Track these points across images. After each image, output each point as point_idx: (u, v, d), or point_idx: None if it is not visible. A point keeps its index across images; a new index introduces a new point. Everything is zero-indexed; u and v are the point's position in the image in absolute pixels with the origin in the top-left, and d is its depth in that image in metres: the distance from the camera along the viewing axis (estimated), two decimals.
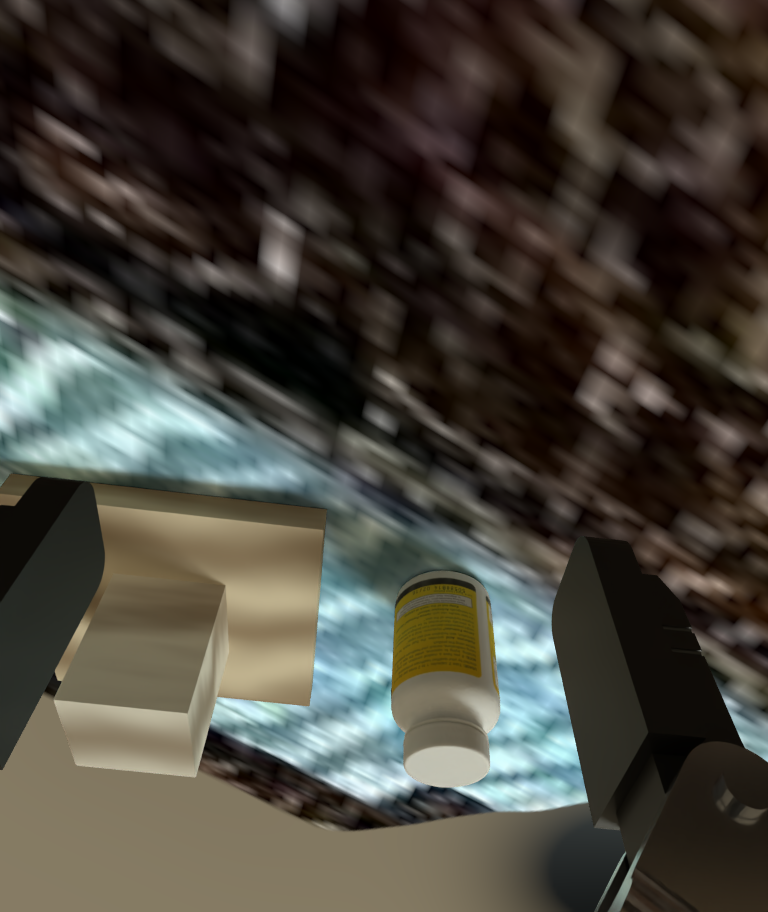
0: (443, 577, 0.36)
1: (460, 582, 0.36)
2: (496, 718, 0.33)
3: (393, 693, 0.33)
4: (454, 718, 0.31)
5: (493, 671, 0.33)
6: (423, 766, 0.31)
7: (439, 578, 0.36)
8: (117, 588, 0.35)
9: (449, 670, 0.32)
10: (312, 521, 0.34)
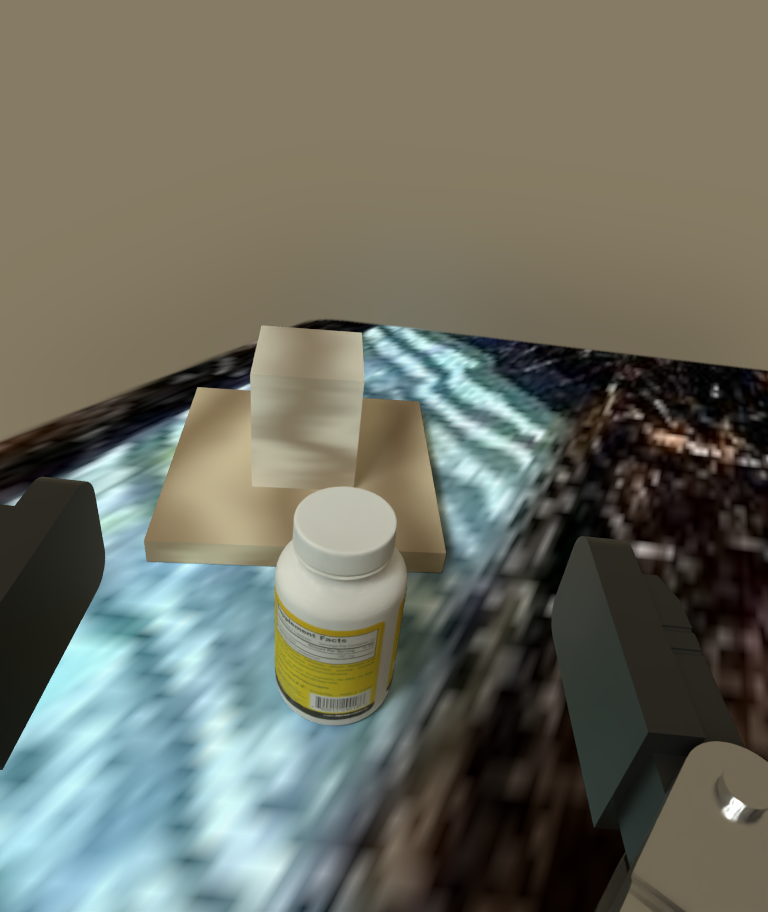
0: None
1: (392, 675, 0.31)
2: (355, 609, 0.25)
3: None
4: None
5: (380, 637, 0.27)
6: (342, 499, 0.27)
7: None
8: None
9: None
10: None
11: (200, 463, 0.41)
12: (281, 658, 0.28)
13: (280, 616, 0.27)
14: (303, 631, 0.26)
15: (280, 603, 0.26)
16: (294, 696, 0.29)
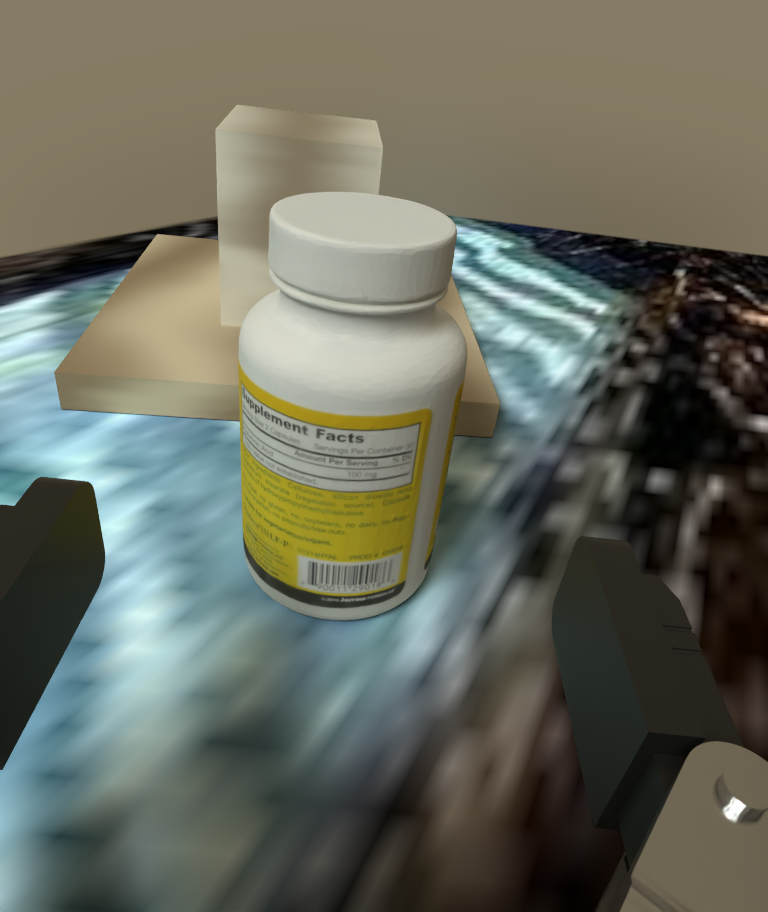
0: None
1: None
2: (382, 372, 0.14)
3: None
4: None
5: (422, 444, 0.15)
6: (358, 202, 0.15)
7: None
8: None
9: None
10: None
11: (150, 300, 0.29)
12: (250, 499, 0.17)
13: (246, 411, 0.15)
14: (286, 424, 0.14)
15: (246, 381, 0.15)
16: (272, 567, 0.17)
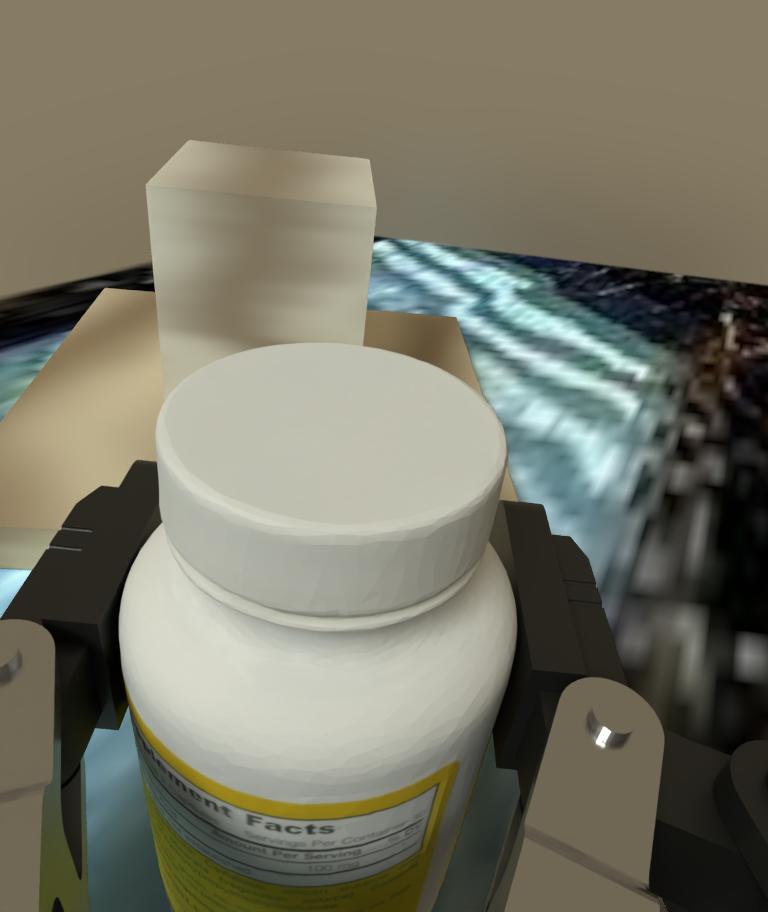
0: None
1: None
2: (367, 732, 0.07)
3: None
4: None
5: (440, 803, 0.08)
6: (328, 372, 0.09)
7: None
8: None
9: None
10: None
11: (80, 390, 0.23)
12: (155, 834, 0.10)
13: (134, 731, 0.09)
14: (194, 794, 0.08)
15: (127, 695, 0.08)
16: None
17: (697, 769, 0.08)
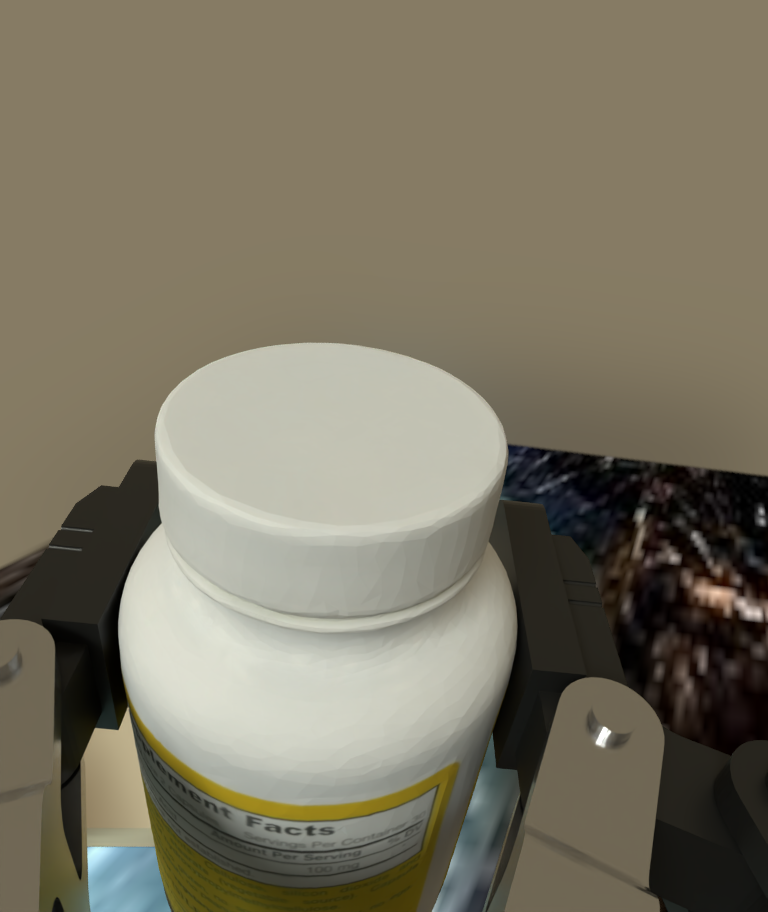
0: None
1: None
2: (367, 734, 0.07)
3: None
4: None
5: (440, 804, 0.08)
6: (328, 372, 0.09)
7: None
8: None
9: None
10: None
11: None
12: (154, 835, 0.10)
13: (134, 732, 0.09)
14: (194, 795, 0.08)
15: (127, 696, 0.08)
16: None
17: (697, 769, 0.08)
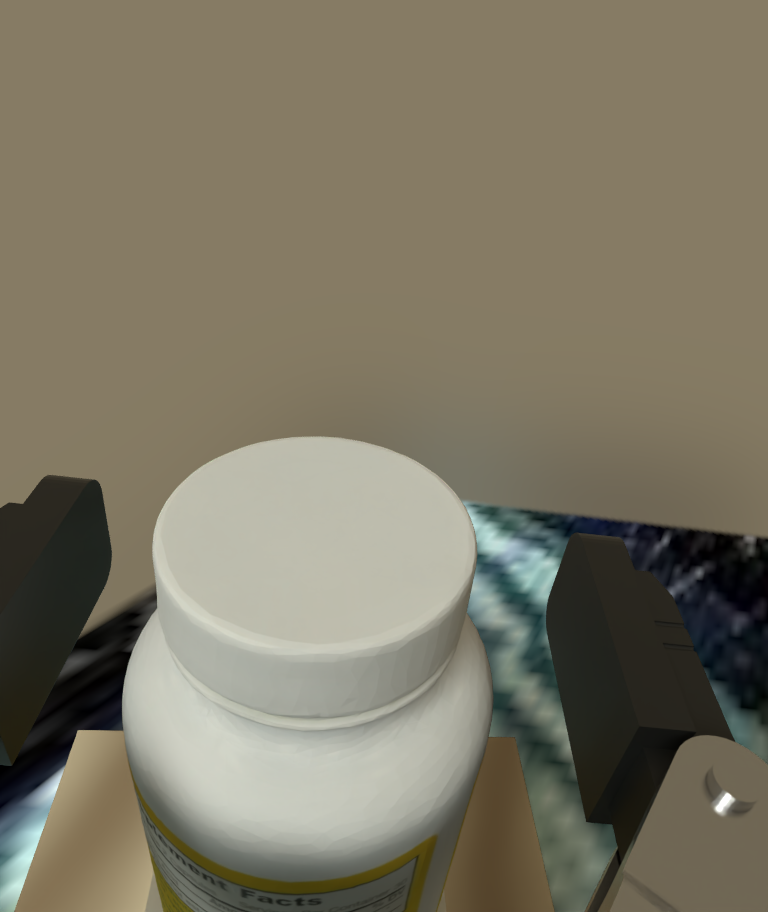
0: None
1: None
2: (349, 819, 0.08)
3: None
4: None
5: (421, 870, 0.09)
6: (312, 471, 0.09)
7: None
8: None
9: None
10: None
11: None
12: (159, 889, 0.11)
13: (138, 803, 0.09)
14: (192, 868, 0.09)
15: (131, 773, 0.09)
16: None
17: None
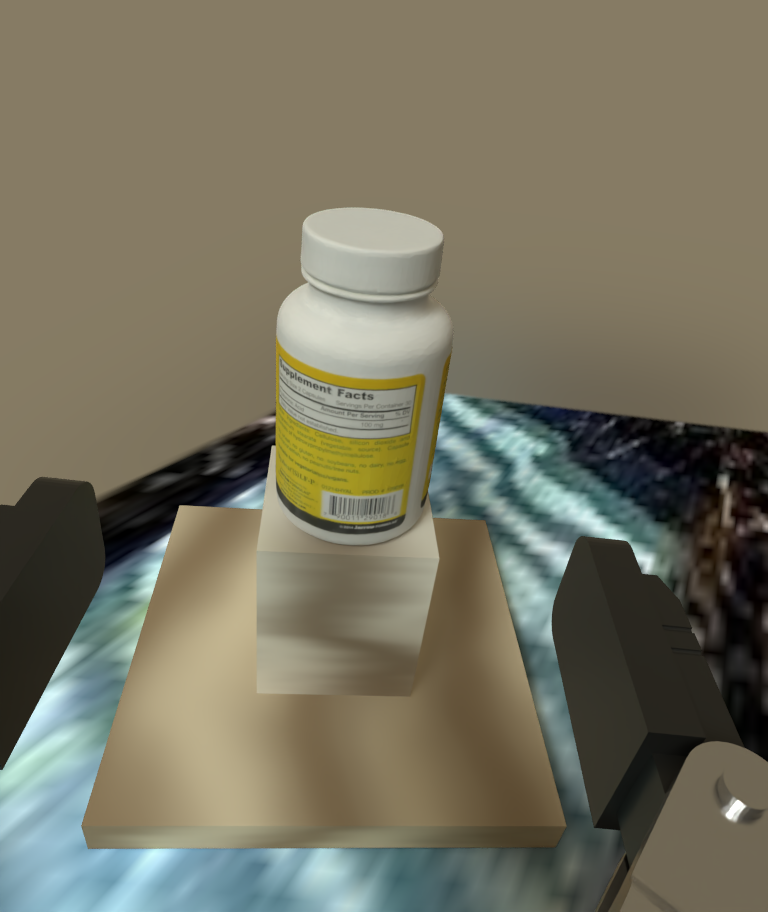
0: None
1: (427, 492, 0.24)
2: (387, 345, 0.18)
3: None
4: None
5: (418, 402, 0.20)
6: (368, 216, 0.20)
7: None
8: None
9: None
10: None
11: (179, 649, 0.27)
12: (284, 448, 0.21)
13: (283, 377, 0.20)
14: (315, 386, 0.19)
15: (283, 354, 0.20)
16: (301, 502, 0.22)
17: None
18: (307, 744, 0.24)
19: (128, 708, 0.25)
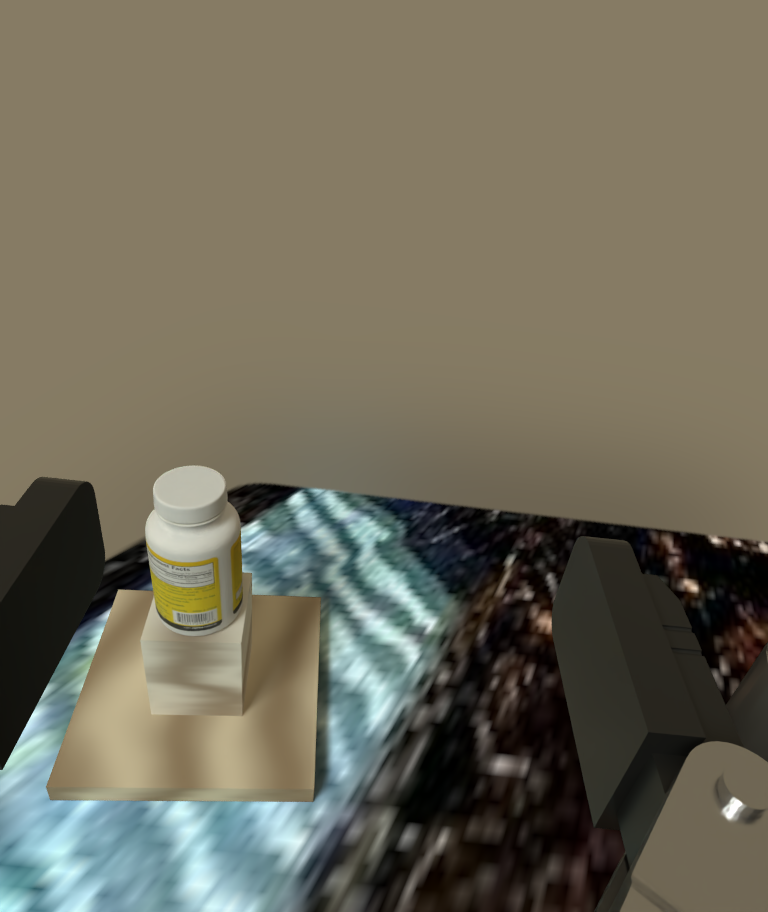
0: None
1: (240, 603, 0.43)
2: (193, 547, 0.37)
3: None
4: None
5: (216, 569, 0.39)
6: (191, 474, 0.39)
7: None
8: (251, 641, 0.49)
9: (240, 529, 0.40)
10: None
11: (108, 687, 0.46)
12: (153, 586, 0.40)
13: (148, 554, 0.39)
14: (161, 563, 0.38)
15: (147, 545, 0.38)
16: (163, 614, 0.41)
17: None
18: (176, 744, 0.43)
19: (75, 723, 0.44)
